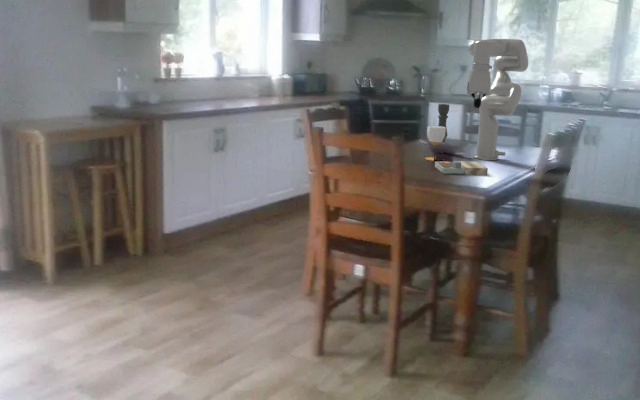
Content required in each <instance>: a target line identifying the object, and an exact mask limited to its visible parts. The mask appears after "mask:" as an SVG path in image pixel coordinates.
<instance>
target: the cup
mask: <svg viewBox="0 0 640 400" xmlns="http://www.w3.org/2000/svg"><path fill="white" fill-rule="evenodd" d="M446 128H447V127H446ZM446 128H445V127H441V126H438V125H428V126H427V130H426V133H427V134H426V135H427V138H428V139H427V140H428V141H429V142H430V143H431V144H432V145H433V146H434V145H437V144H440V143H441V142H442V141H443V139H444V137H445V133H446ZM424 159H425V160H427V161H431V162H435V161H434V156H433V157H431V156H430V157H425V158H424Z"/></svg>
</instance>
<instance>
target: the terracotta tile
mask: <svg viewBox="0 0 640 400" xmlns="http://www.w3.org/2000/svg"><path fill="white" fill-rule="evenodd" d="M437 162H438V163H439V164H440V165H441V166H442V167H443V168H450V165H451V163H450V162H451V161H447V160H446V161H444V160H443V161H437Z"/></svg>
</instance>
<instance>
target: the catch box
mask: <svg viewBox="0 0 640 400" xmlns="http://www.w3.org/2000/svg"><path fill="white" fill-rule="evenodd" d="M438 162H439V161H434V168H435V169H436V170H438V171H439V172H440V173H441V174H443V175H465V174H464V168H462V167H461V168H453V161H449V162H450V163H451V165H450V168H443V167H442V166H441V165H440V164H439V163H438Z"/></svg>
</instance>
